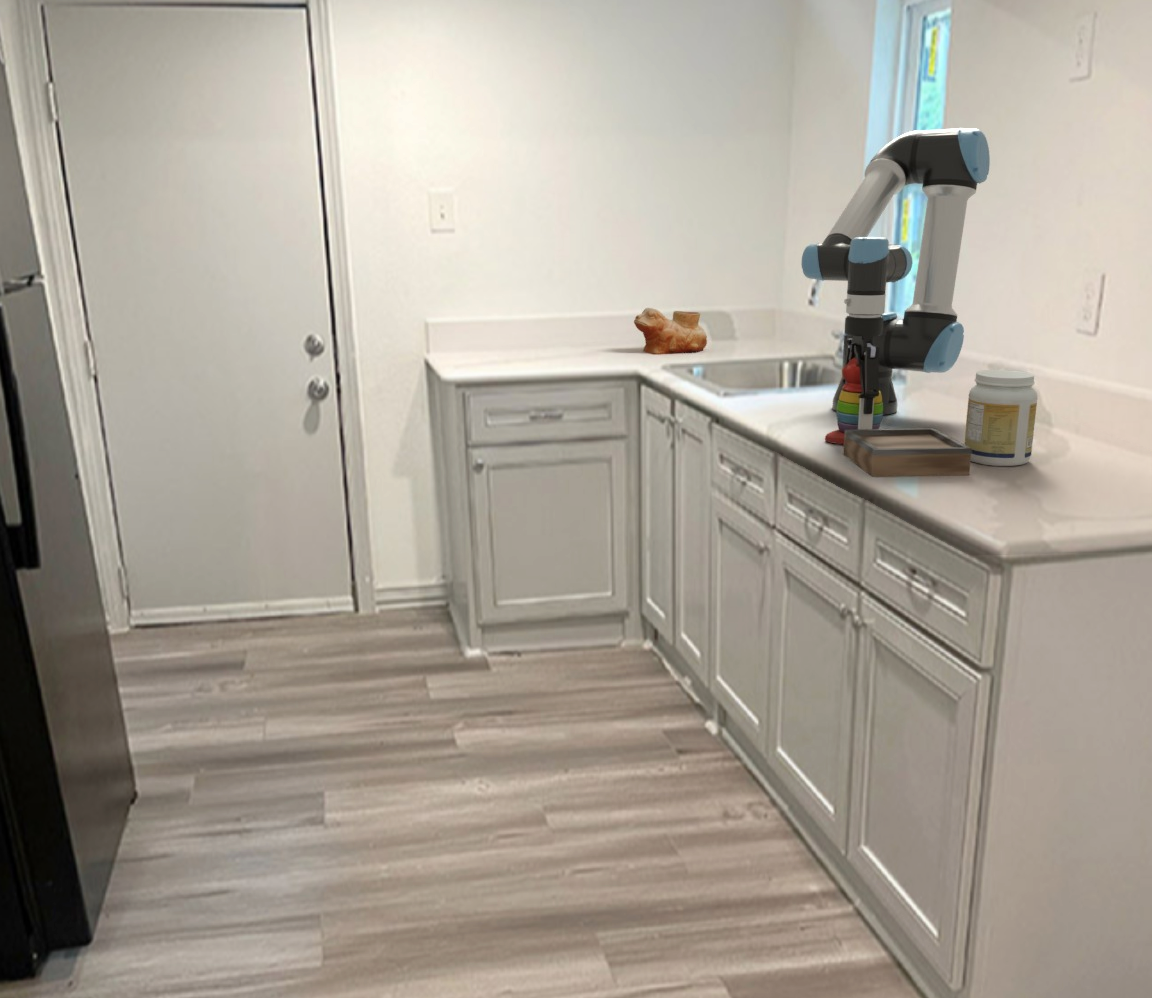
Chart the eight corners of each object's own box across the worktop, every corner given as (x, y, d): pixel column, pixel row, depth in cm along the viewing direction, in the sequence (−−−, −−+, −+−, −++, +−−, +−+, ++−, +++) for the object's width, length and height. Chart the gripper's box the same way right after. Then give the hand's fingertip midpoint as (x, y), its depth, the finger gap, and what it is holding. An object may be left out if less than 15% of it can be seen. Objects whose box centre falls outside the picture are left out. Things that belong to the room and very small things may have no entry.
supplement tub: (999, 451, 210) (1008, 366, 206) (1044, 464, 200) (1055, 375, 195) (949, 456, 206) (957, 370, 202) (992, 470, 195) (1002, 379, 191)
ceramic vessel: (627, 350, 360) (627, 306, 356) (697, 347, 368) (698, 304, 364) (641, 356, 348) (642, 310, 344) (713, 352, 355) (715, 307, 351)
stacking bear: (848, 433, 227) (854, 351, 222) (891, 440, 220) (897, 355, 215) (820, 441, 220) (825, 356, 215) (863, 448, 213) (869, 361, 208)
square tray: (843, 454, 208) (844, 429, 207) (931, 452, 209) (934, 428, 208) (872, 476, 191) (874, 449, 190) (969, 474, 192) (971, 448, 191)
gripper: (830, 310, 223) (824, 414, 229) (863, 321, 201) (855, 435, 208) (865, 309, 223) (858, 413, 229) (901, 321, 202) (893, 435, 208)
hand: (857, 424), depth 218 cm, fingers closed on stacking bear, 9 cm apart
